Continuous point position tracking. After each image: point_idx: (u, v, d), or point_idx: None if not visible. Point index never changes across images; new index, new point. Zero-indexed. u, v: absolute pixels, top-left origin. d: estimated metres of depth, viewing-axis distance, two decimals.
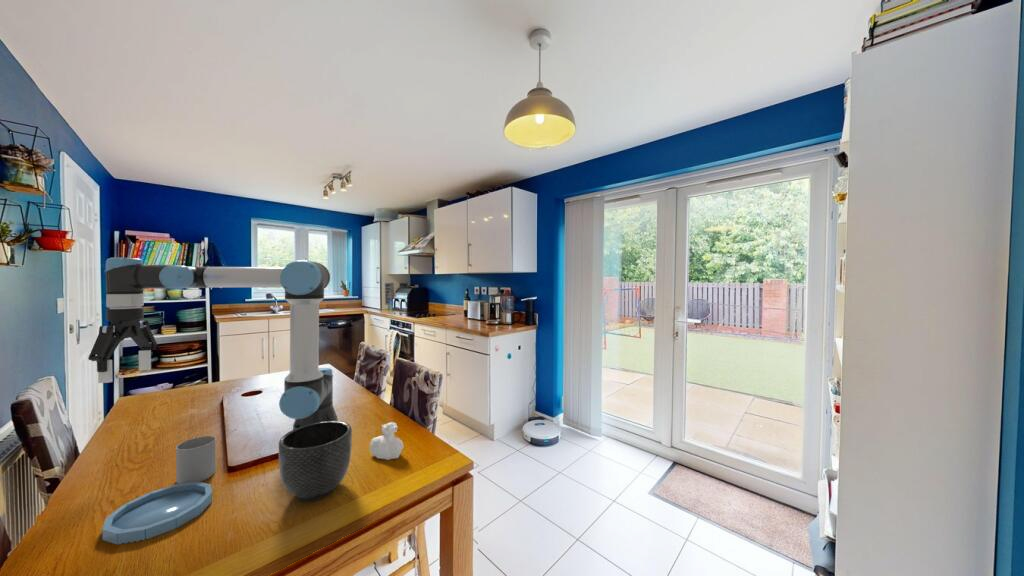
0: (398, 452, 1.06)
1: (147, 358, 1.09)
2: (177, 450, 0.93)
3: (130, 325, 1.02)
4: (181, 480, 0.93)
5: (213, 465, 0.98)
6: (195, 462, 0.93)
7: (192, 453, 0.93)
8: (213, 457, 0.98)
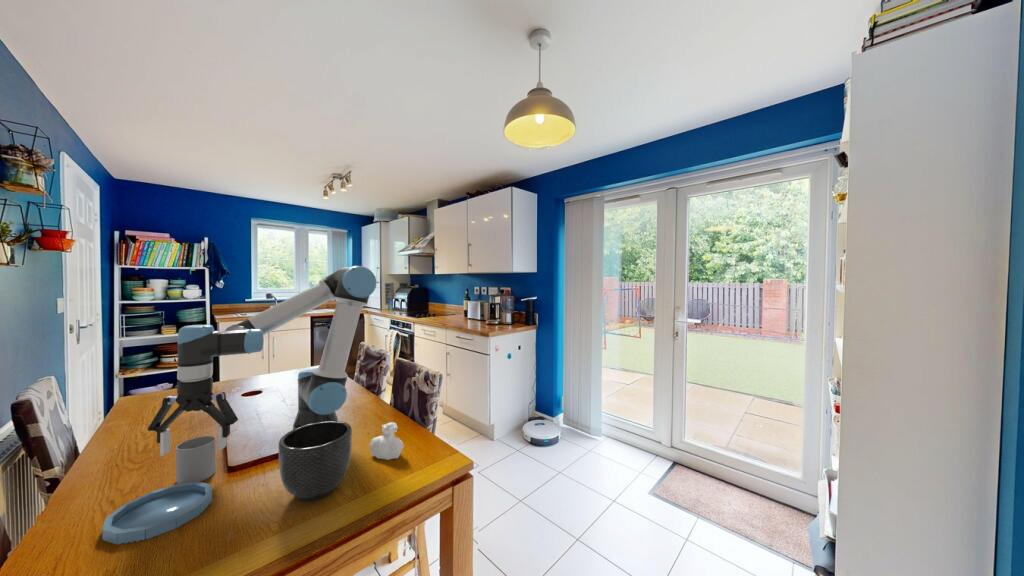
0: (398, 452, 1.06)
1: None
2: (177, 450, 0.93)
3: (193, 398, 0.95)
4: (181, 480, 0.93)
5: (213, 465, 0.98)
6: (195, 462, 0.93)
7: (192, 453, 0.93)
8: (213, 457, 0.98)
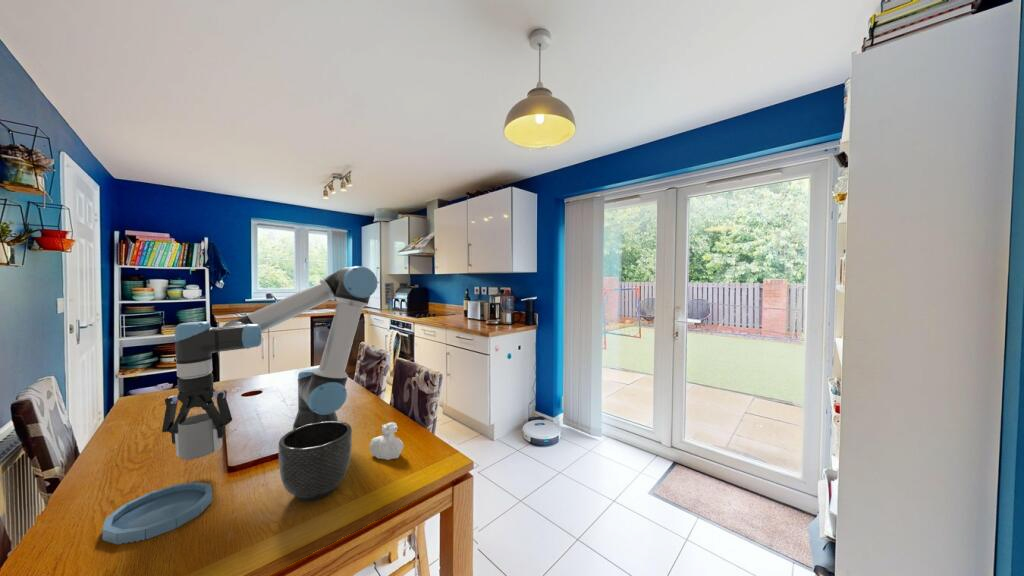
0: (398, 452, 1.06)
1: None
2: (179, 426, 0.93)
3: (195, 392, 0.95)
4: (184, 455, 0.93)
5: None
6: (197, 437, 0.94)
7: (194, 429, 0.93)
8: None
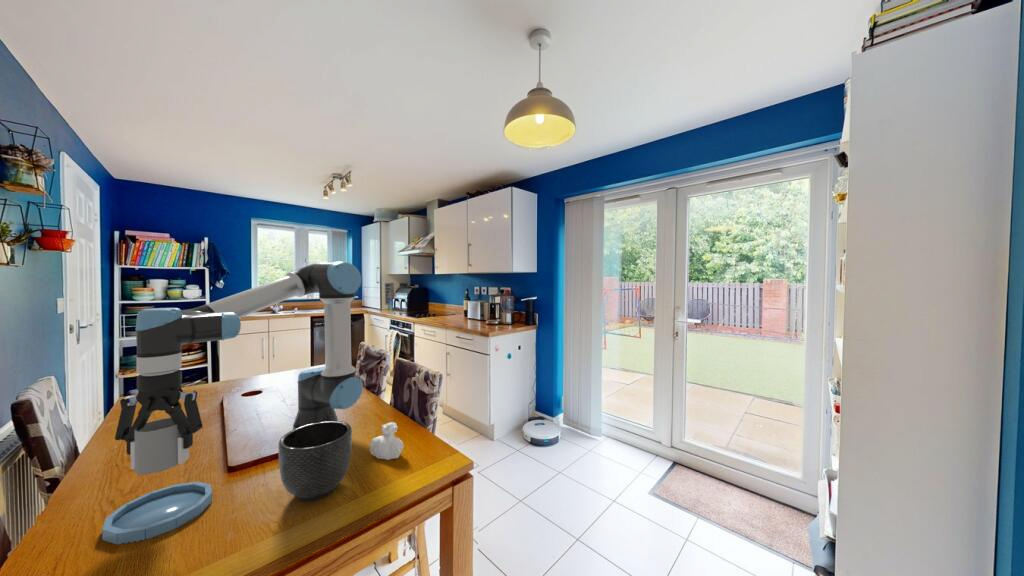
0: (398, 452, 1.06)
1: None
2: (136, 432, 0.77)
3: (158, 392, 0.79)
4: (140, 469, 0.77)
5: None
6: (157, 447, 0.77)
7: (154, 437, 0.77)
8: None
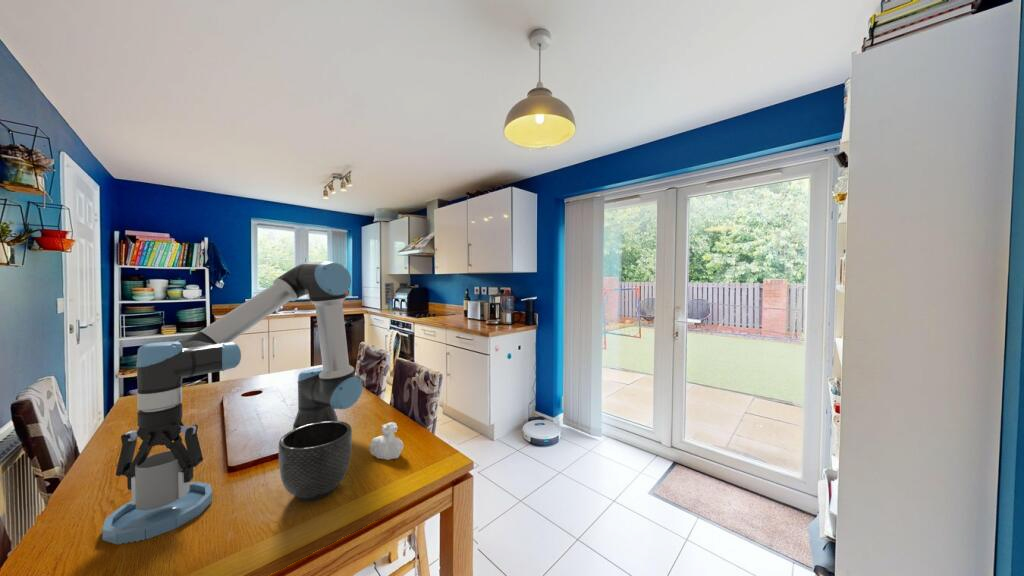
0: (398, 452, 1.06)
1: None
2: (136, 468, 0.77)
3: (158, 427, 0.80)
4: (141, 505, 0.77)
5: None
6: (158, 483, 0.78)
7: (155, 472, 0.77)
8: None
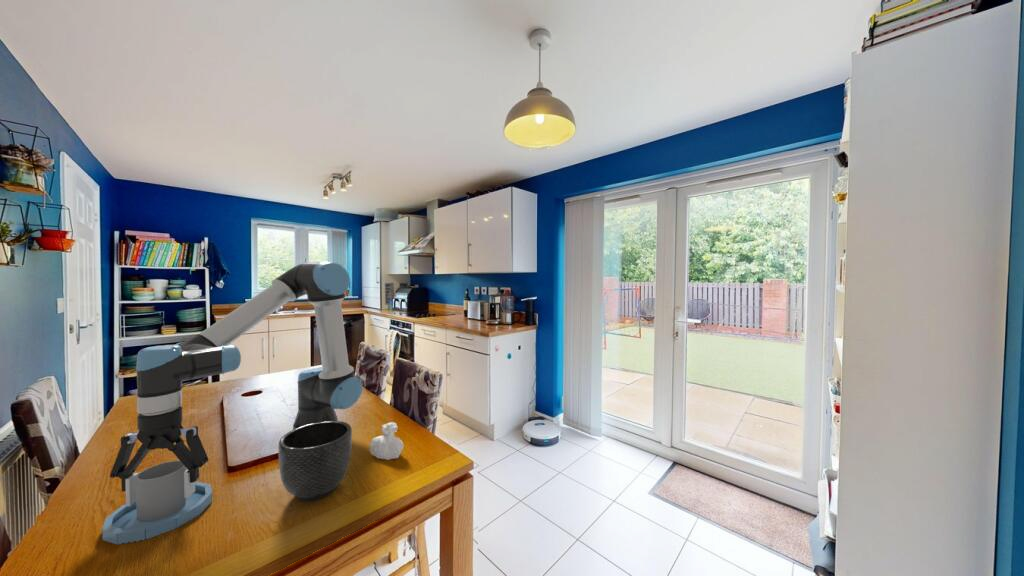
0: (398, 452, 1.06)
1: None
2: (137, 480, 0.77)
3: (158, 432, 0.80)
4: (142, 516, 0.77)
5: (183, 496, 0.82)
6: (159, 495, 0.78)
7: (156, 484, 0.78)
8: (182, 487, 0.82)
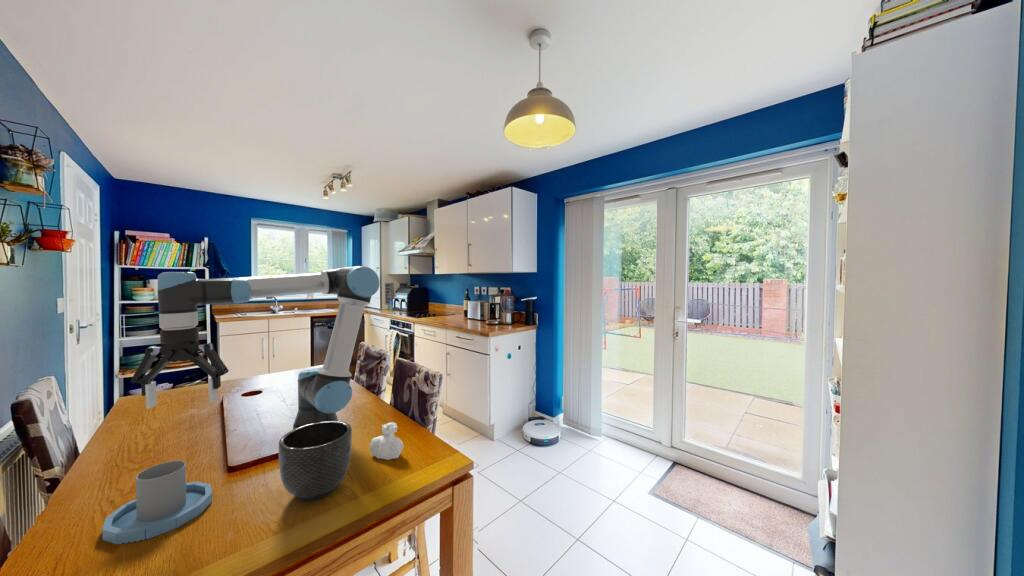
0: (398, 452, 1.06)
1: None
2: (137, 480, 0.77)
3: (178, 348, 0.90)
4: (142, 517, 0.77)
5: (183, 496, 0.82)
6: (159, 495, 0.78)
7: (156, 484, 0.78)
8: (182, 487, 0.82)
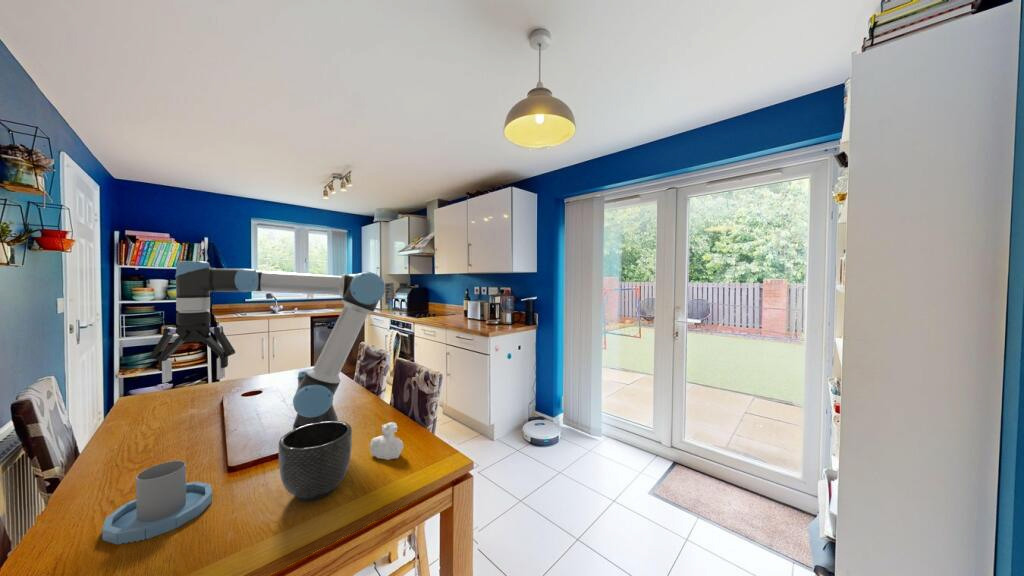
0: (398, 452, 1.06)
1: None
2: (137, 480, 0.77)
3: (192, 329, 1.00)
4: (142, 517, 0.77)
5: (183, 496, 0.82)
6: (159, 495, 0.78)
7: (156, 484, 0.78)
8: (182, 487, 0.82)
